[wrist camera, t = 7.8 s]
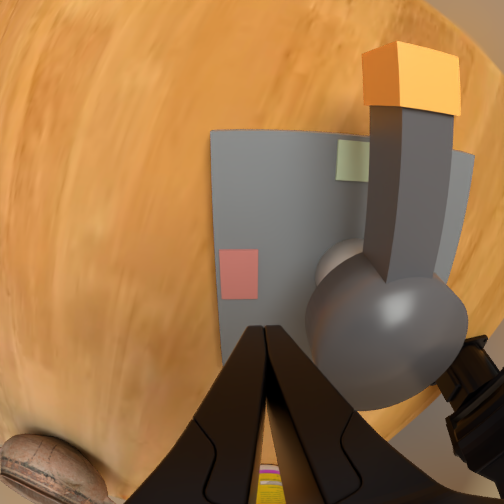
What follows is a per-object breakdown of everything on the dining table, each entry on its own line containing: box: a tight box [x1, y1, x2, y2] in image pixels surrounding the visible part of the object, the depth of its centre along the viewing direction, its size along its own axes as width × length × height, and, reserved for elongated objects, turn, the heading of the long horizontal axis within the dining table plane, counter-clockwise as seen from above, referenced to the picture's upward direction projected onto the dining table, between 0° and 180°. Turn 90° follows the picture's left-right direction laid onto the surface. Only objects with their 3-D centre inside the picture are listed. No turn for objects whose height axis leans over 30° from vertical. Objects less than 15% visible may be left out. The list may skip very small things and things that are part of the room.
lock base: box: [210, 129, 475, 366], centre depth 19 cm, size 18×18×6 cm
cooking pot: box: [0, 434, 116, 504], centre depth 30 cm, size 25×19×12 cm
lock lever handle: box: [305, 41, 468, 411], centre depth 12 cm, size 17×8×4 cm, turn 3°
